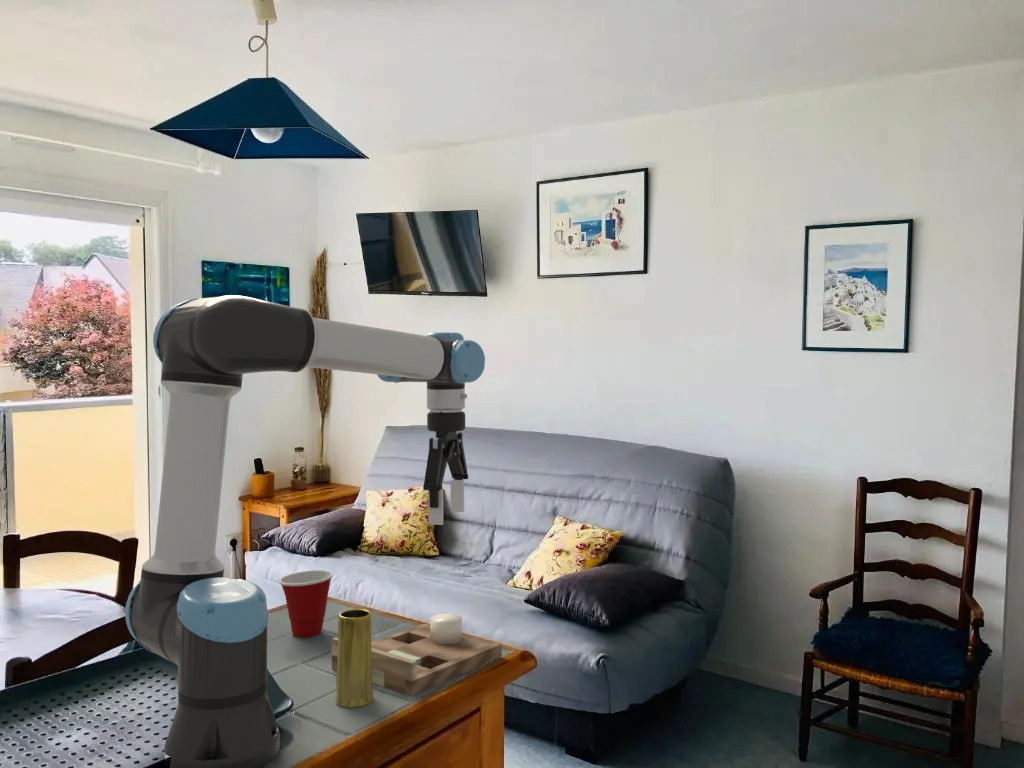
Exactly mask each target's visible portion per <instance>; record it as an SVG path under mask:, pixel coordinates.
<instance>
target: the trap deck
mask: <svg viewBox="0 0 1024 768" xmlns="http://www.w3.org/2000/svg"><path fill="white" fill-rule="evenodd" d="M502 646H503V644H502V643H501V642H496V641H492V640H490V639H489V640H488V639H485V638H480V637H477V636H473V635H470V634H465V633H462V640H461V641H460V642H458V643H454V644H437V643H434V642H432V641H431V640H430V624H429V623H428V624H427V623H422V624H419V625H416V626H413V627H410V628H407V629H405V630H401V631H398V632H395V633H393V634H390V635H388V636H384V637H380V638H378V639H376V640H371V649H372V684H374V685H375V686H376V685H377V686H379V687H383V688H386V689H389V690H392V691H395V692H397V693H400V694H403V695H406V696H409V697H414V696H416V695H418V694H420V693H423V692H426V691H428V690H429V689H432V688H434V687H436V686H439V685H441V684H444V683H447V682H448V681H450V680H452V679H456V678H457V677H460V676H462V675H463V673H464V674H466V673H468V671H469V672H470V670H471V671H473V670H475V668H476V669H478V668H480V667H481V665H482V666H484V665H483V664H484V663H486V662H489V661H491V660H493V659H496V658H498V657H501V656H503V655H502V652H503V649H502V648H503V647H502ZM337 656H338V636H337V637H333V638H331V670H333V671H336V672H337ZM501 658H502V657H501ZM498 659H499V658H498ZM496 660H497V659H496ZM489 663H490V662H489ZM479 666H480V667H479ZM477 667H478V668H477Z"/></svg>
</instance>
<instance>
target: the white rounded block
mask: <svg viewBox="0 0 1024 768" xmlns="http://www.w3.org/2000/svg"><path fill="white" fill-rule="evenodd" d="M429 623H430V624H429V625H430V640H431V641H432V642H434V643H437V644H454V643H458V642H460V641H461V640H462V634H463V618H462V616H461V615H458V614H456V613H455V614H454V613H440V614H439V613H438V614H436V615H432V616H431V617H430V622H429Z"/></svg>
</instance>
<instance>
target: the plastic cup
mask: <svg viewBox="0 0 1024 768" xmlns="http://www.w3.org/2000/svg"><path fill="white" fill-rule="evenodd" d="M333 576H334V574H333V572H332V571H330V570H324V569H323V570H322V569H317V570H316V569H314V570H305V571H298V572H294V573H290V574H287V575H284V576H282V577H281V578H279V580H278V583H279V584H280V585H281V587H282V590H283V592H284V596H285V600H286V606H287V613H288V617H289V621H290V626H291V633H292V635H293V636H294V637H297V638H303V639H304V638H312V637H316V636H318V635H321V633H322V630H323V626H324V620H325V617H326V609H327V604H328V603H327V602H328V597H329V591H330V585H331V581H332V578H333Z"/></svg>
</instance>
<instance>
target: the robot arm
mask: <svg viewBox="0 0 1024 768" xmlns="http://www.w3.org/2000/svg"><path fill="white" fill-rule="evenodd" d="M152 336H153V337H152V338H153V339H152V342H153V343H152V344H153V348H154V353H155V355H156V357H157V358H158V360H159V362H161V365H162V367H161V376H160V384H161V385H162V386H163V387H164V388H165V389H166V391H167V392H168V393H169V396H170V397H169V407H168V417H167V424H166V426H167V428H166V437H165V445H164V446H165V447H164V455H163V456H164V457H163V464H162V465H163V466H162V477H161V483H160V495H159V496H160V497H159V504H158V505H159V506H158V515H157V525H156V535H155V536H156V537H155V546H154V552H153V554H152V556H151V557H149V558H148V559H147V560H146V561H145V562H144V563H142V566H141V574H140V580H139V581H138V583H137V584H136V585H135V586H134V587H133V588H132V589H131V591H130V593H129V594H128V598H127V601H126V602H125V611H124V613H125V615H124V616H125V623H126V626H127V629H128V631H129V633H130V634H131V636H132V637H133V638H134V639H135V641H136V642H138V644H139V645H140V646H142V647H143V648H145V650H147V651H148V652H150V653H152V654H155V655H157V656H160V657H161V658H164V659H165V660H167V661H169V662H171V663H173V664H174V665H176V666H177V672H178V674H177V675H178V676H177V682H178V683H177V689H178V690H177V691H178V692H177V693H178V694H177V696H178V698H177V699H178V700H177V701H178V702H177V707H176V711H175V713H174V716H173V720H172V723H171V726H170V729H169V732H168V736H167V739H166V740H165V743H164V749H163V753H164V752H165V754H166V755H168V756H170V757H171V762H170V768H262V767H265V765H267V764H268V763H270V762H271V761H273V760H274V759H275V758H276V756H277V755H278V754H279V751H280V730H279V725H278V723H277V720H276V717H275V714H274V711H273V708H272V706H271V703H270V700H269V697H268V692H267V691H268V689H267V688H268V683H267V682H268V680H267V679H268V623H269V612H268V611H269V610H268V605H267V604H268V603H267V596H266V593H265V592H264V590H263V589H262V588H261V587H260V586H259V585H258V584H256V583H254V582H252V581H251V580H250V581H249V580H246V579H242V578H237V579H234V578H232V577H224V573H225V565H224V563H222V561H220V559H219V557H217V556H216V546H217V537H218V527H219V526H218V525H219V516H220V508H221V507H220V506H221V496H222V488H223V485H222V484H223V475H224V465H225V455H226V445H227V444H226V443H227V436H228V435H227V433H228V423H229V414H230V413H229V412H230V402H231V400H232V398H233V397H234V396H236V395H237V394H238V393H239V392H241V391H242V388H243V387H242V384H243V377H244V376H243V375H244V374H254V373H256V374H257V373H264V372H287V373H300V372H302V371H304V370H305V369H306V368H311V369H312V368H314V369H322V370H330V371H331V370H332V371H343V372H350V373H351V372H352V373H361V374H370V375H376V376H377V377H378V378H379V379H380V380H381V381H382V382H386V383H395V384H398V383H426V409H428V410H429V412H427V413H426V418H427V419H426V420H427V421H426V422H427V423H426V428H427V431H428V432H429V431H430V432H435V437H429V440H428V455H427V461H426V466H425V467H426V468H425V473H424V474H425V475H424V481H423V487H422V488H423V491H428V492H427V493H428V495H427V496H428V499H427V501H428V507H427V508H428V510H427V511H428V525H436V526H442V525H444V490H443V489H442V487H443V483H444V477H445V473H446V470H447V466H448V468H449V472H450V475H451V478H452V479H450V485H449V486H450V512H451V513H452V512H455V513H464V512H465V480H469V474H468V467H467V460H466V454H465V448H464V442H463V432H462V431H464V430H465V429H466V413H465V411H463V410H464V409H465V408H466V403H465V402H466V399H467V398H468V394H467V393H466V389H465V388H466V387H465V386H466V384H467V383H473V382H475V381H477V380H479V378H480V377H481V376H482V375H483V373H484V371H485V367H486V366H485V365H486V362H485V361H486V356H485V355H486V354H485V352H484V350H483V348H482V346H481V345H480V344H479V343H477V341H474V340H470V339H469V340H468V339H465V338H464V336H463V334H461V333H460V332H446V331H445V332H429V333H428V334H427V335H422V334H416V333H410V332H403V331H398V330H393V329H386V328H379V327H375V326H374V327H373V326H367V325H361V324H355V323H348V322H342V321H335V320H331V319H325V318H318V317H313V315H312V314H311V312H309V311H308V310H307V309H304V308H301V307H294V306H289V305H284V304H280V303H276V302H272V301H271V302H270V301H267V300H263V299H259V298H254V297H250V296H243V295H234V294H233V295H232V294H229V295H222V296H213V297H203V298H200V297H197V298H192V299H191V298H190V299H187V300H184V301H183V302H180V303H177V304H175V305H173V306H171V307H170V308H169V309H168V310H166V311H165V312H164V313H163V314H162V315H161V317H159V320H158V321H157V322H156V325H155V328H154V331H153V335H152Z"/></svg>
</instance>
